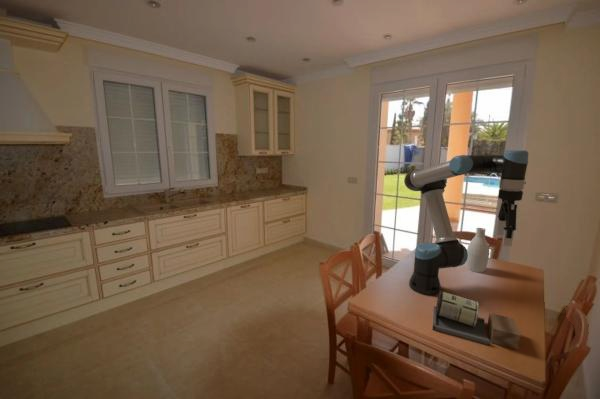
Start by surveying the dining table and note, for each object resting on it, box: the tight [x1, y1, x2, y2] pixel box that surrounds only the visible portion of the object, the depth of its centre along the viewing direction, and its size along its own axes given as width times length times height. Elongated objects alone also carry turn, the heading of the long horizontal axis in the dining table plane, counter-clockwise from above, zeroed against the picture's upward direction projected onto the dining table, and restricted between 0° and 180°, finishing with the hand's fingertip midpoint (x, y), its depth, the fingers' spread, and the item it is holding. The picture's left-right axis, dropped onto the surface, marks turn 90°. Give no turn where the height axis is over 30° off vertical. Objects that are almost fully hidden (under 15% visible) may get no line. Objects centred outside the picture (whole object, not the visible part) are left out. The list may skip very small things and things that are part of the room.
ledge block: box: [486, 312, 521, 351], centre depth 104 cm, size 8×11×6 cm
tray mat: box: [432, 306, 491, 346], centre depth 111 cm, size 19×15×2 cm
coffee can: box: [435, 289, 480, 327], centre depth 112 cm, size 10×10×14 cm
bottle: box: [466, 227, 490, 273], centre depth 158 cm, size 11×11×25 cm
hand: (503, 240), depth 111 cm, fingers open, 13 cm apart
